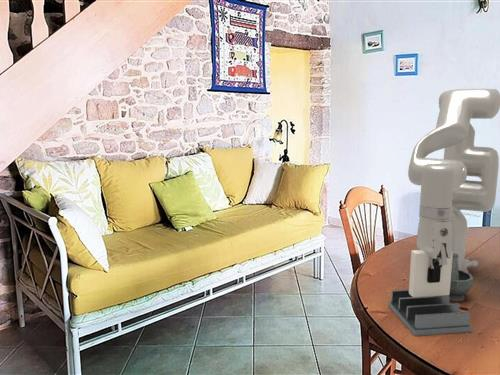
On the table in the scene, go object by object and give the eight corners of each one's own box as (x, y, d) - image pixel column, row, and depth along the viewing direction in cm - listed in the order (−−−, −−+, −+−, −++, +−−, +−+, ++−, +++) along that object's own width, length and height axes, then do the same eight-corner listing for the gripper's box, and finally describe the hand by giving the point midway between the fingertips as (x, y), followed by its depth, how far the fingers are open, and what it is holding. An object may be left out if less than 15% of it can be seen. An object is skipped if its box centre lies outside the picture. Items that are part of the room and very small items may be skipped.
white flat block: (408, 293, 118) (411, 250, 116) (444, 290, 119) (447, 248, 117) (413, 297, 116) (415, 253, 113) (449, 294, 117) (452, 251, 114)
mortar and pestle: (473, 306, 125) (477, 266, 123) (437, 301, 128) (440, 262, 126) (466, 289, 136) (470, 252, 133) (433, 286, 139) (436, 249, 136)
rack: (388, 306, 126) (389, 289, 125) (438, 302, 127) (439, 286, 126) (414, 335, 110) (415, 317, 109) (471, 331, 112) (473, 313, 111)
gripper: (467, 220, 105) (461, 292, 109) (433, 203, 121) (428, 267, 125) (437, 221, 105) (432, 293, 108) (406, 205, 120) (403, 268, 124)
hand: (430, 279), depth 117 cm, fingers closed on white flat block, 2 cm apart
